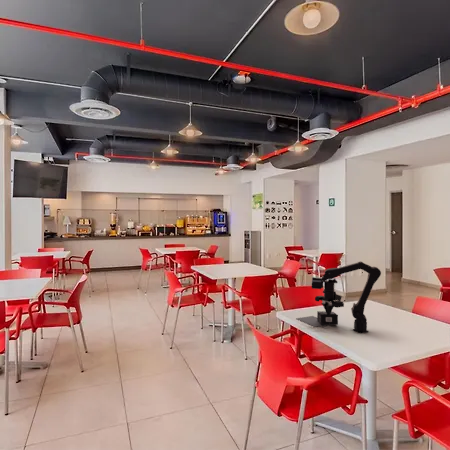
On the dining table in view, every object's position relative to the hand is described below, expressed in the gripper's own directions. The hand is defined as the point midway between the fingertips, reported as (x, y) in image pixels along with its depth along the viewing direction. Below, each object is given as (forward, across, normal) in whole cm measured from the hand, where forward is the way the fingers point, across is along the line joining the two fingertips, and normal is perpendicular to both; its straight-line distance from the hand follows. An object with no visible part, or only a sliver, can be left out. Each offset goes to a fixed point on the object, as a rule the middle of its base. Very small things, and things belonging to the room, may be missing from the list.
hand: (328, 315), depth 199 cm
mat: (+8, +13, 0) cm, 15 cm away
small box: (+3, +1, -2) cm, 4 cm away
